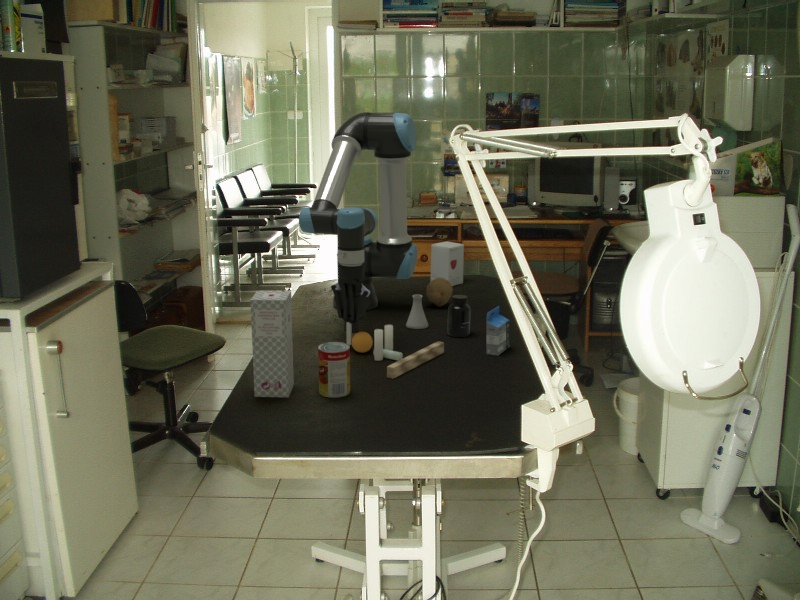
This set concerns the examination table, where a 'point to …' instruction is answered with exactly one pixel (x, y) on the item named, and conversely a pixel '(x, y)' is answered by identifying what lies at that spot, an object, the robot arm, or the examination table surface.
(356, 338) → the ball
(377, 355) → the pin
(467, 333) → the supplement bottle
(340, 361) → the canned food
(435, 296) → the natural sponge
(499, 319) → the label tape box
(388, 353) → the front pin
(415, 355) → the wooden bar
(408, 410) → the examination table surface
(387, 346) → the pin
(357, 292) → the robot arm
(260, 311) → the box
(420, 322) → the flask
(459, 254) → the supplement box
